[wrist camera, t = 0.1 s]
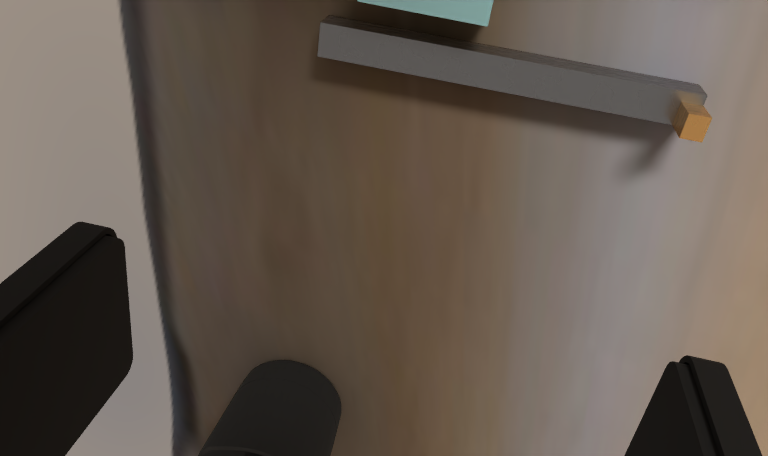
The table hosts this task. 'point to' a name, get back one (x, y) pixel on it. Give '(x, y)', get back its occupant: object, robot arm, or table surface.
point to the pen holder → (278, 414)
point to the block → (444, 8)
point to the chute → (518, 73)
